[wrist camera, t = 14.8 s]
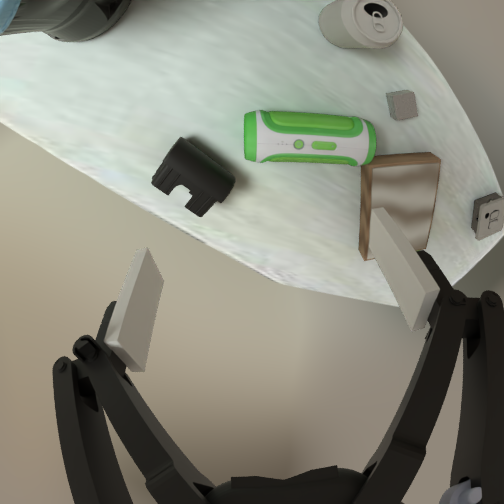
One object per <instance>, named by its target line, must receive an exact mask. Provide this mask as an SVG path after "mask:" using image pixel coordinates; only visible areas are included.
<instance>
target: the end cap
mask: <svg viewBox="0 0 504 504" xmlns="http://www.w3.org/2000/svg"><path fill="white" fill-rule="evenodd" d="M151 183H152V185H153V186H155V187H156V188H158V189H159V190H161V191H162V192H163V193H165V194H166V195H169V194H170V193H171V191H172V190H173V189H174V188H175V187H176V186H178V185H184V186H185V187H186V188H188V189H189V190H190V192H189V193H190V194H191V195H192V198H191V199H190V200H189V201H188V203H187V204H186V205H185V208H187V209H188V210H190V211H191V212H193V213H194V214H196V215H197V216H199V217H202V216H203V215H204V214H205V213H206V212H207V211H208V210H209V209H210V208H211V207H212V206H213V204H214V203H215V202H216V201H218V202H220V203H222V202H223V201H224V200H225V198H226V197H227V196H228V194H229V193H230V191H231V190H232V188H233V186H234V183H235V177H234V176H233V175H232V174H231V173H229V172H228V171H227V170H225V169H224V168H223V167H221V166H220V165H219V164H218V163H216V162H215V161H214V160H212V159H211V158H210V157H208V156H207V155H206V154H204V153H203V152H202V151H200V150H199V149H197V148H196V147H195V146H193V145H192V144H191V143H189V142H188V141H187V140H185V139H184V138H182V137H180V138H179V139H178V140H177V141H176V143H175V144H174V145H173V146H172V148H171V149H170V151H169V152H168V154H167V155H166V157H165V158H164V160H163V163H162V164H161V165H160V167H159V168H158V170H157V171H156V173H155V175H154V176H153V177H152V182H151Z"/></svg>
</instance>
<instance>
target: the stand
mask: <svg viewBox="0 0 504 504" xmlns="http://www.w3.org/2000/svg"><path fill="white" fill-rule="evenodd" d="M440 164H441V159H439V158H438V157H436V156H435V155H434V154H432V153H431V152H423V153H406V154H391V155H379V156H374V157H373V159H372V161H371V162H370V163H368V164H365V165H361V208H360V233H359V251H360V253H361V255H362V257H363V259H364V261H367V260H372V259H375V257H374V255H373V254H372V252H371V250H370V248H369V239H370V227H371V211H372V209H375V208H382V207H383V208H384V209H385V210H386V211H387V213H388V214H389V215H390V217H391V218H392V219H393V221H394V222H395V223H396V225H397V226H398V227H399V229H400V230H401V231H402V233H403V234H404V235H405V237H406V238H407V240H408V241H409V243H410V244H411V245H412V247H413V248H414V250H415V251H417V250H422V249H426V247H427V242H428V238H429V233H430V228H431V223H432V218H433V213H434V207H435V201H436V195H437V188H438V181H439V173H440Z"/></svg>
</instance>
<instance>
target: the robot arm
mask: <svg viewBox="0 0 504 504" xmlns="http://www.w3.org/2000/svg"><path fill="white" fill-rule="evenodd" d="M130 2H131V0H0V36H2V35H9V34H17V33H26V32H39V31H42V32H44V33H46V34H48V35H49V36H50V37H52V38H53V39H55V40H58V41H62V42H80V41H85V40H89V39H92V38H94V37H96V36H98V35H100V34H102V33H103V32H105V31H106V30H108V29H109V28H110V27H111V26H112V25H114V24H115V23H116V22H117V21H118V20H119V18H120V17H121V16H122V15H123V13H124V12H125V11H126V9H127V8H128V6H129V4H130ZM369 248H370V250H371V252H372V254H373V255H374V257H375V259H376V261H377V263H378V265H379V267H380V268H381V270H382V272H383V274H384V276H385V278H386V280H387V282H388V284H389V286H390V288H391V290H392V292H393V294H394V296H395V298H396V300H397V302H398V304H399V306H400V308H401V310H402V313H403V315H404V317H405V319H406V321H407V323H408V326H409V328H410V330H411V332H412V331H416V330H419V329H422V328H424V327H425V325H426V323H427V321H428V322H429V324H430V326H431V327H430V329H429V331H428V333H427V336H426V338H425V339H426V342H425V344H424V347H423V350H422V353H421V355H420V358H419V361H418V363H417V366H416V369H415V372H414V374H413V376H412V379H411V381H410V384H409V386H408V389H407V391H406V393H405V395H404V398H403V400H402V402H401V404H400V406H399V408H398V411H397V412H396V415H395V417H394V419H393V421H392V423H391V425H390V427H389V429H388V431H387V432H386V434H385V436H384V438H383V440H382V442H381V444H380V445H379V447H378V449H377V450H376V452H375V453H374V455H373V456H372V458H371V459H370V461H369V462H368V464H367V465H366V467H365V469H364V470H363V472H362V473H359V472H357V471H354V470H350V469H344V468H337V465H336V466H331V467H325V468H320V469H315V470H310V471H307V472H305V473H302V474H299V475H297V476H294V477H291V478H288V479H285V480H280V479H273V478H265V477H259V476H249V477H231V481H228V482H225V483H222V484H221V485H219V486H217V487H216V486H215V485H214V484H213V483H212V482H211V481H210V480H209V479H208V478H206V477H205V476H204V475H202V474H201V473H200V472H199V471H198V470H197V469H196V468H195V466H194V465H193V464H192V463H191V462H190V461H189V459H188V458H187V457H186V456H185V455H184V454H183V452H182V451H181V450H180V449H179V447H178V446H177V445H176V444H175V442H174V441H173V440H172V438H171V437H170V436H169V435H168V433H167V432H166V431H165V429H164V428H163V427H162V425H161V424H160V423H159V421H158V420H157V418H156V417H155V416H154V414H153V413H152V411H151V410H150V408H149V407H148V406H147V404H146V403H145V401H144V400H143V398H142V397H141V395H140V394H139V392H138V391H137V389H136V387H135V386H134V384H133V383H132V381H131V380H130V378H129V377H128V375H127V374H126V373H125V369H126V366H127V367H128V368H129V369H130V370H131V371H132V372H144V371H145V366H146V361H147V356H148V351H149V346H150V341H151V336H152V331H153V326H154V321H155V317H156V313H157V308H158V304H159V300H160V296H161V291H162V287H163V283H164V280H163V278H162V276H161V274H160V272H159V270H158V268H157V266H156V264H155V261H154V260H153V258H152V256H151V253H150V251H149V249H148V248H143V249H138V250H136V253H135V255H134V258H133V260H132V263H131V265H130V268H129V271H128V273H127V275H126V278H125V281H124V283H123V286H122V289H121V291H120V294H119V297H118V300H117V301H113V302H111V303H110V305H109V306H108V307H107V309H106V311H105V314H104V318H103V320H102V324H101V325H100V328H99V331H98V334H97V337H96V340H94V339H93V338H92V337H91V336H90V335H84V336H82V337H80V338H79V339H78V340H77V341H76V342H75V344H74V346H73V354H74V355H75V356H76V357H77V358H78V359H77V360H74V361H71V360H70V359H69V358H68V357H65V356H64V357H61V358H59V359H58V360H57V361H56V362H55V364H54V366H53V388H54V400H55V410H56V418H57V425H58V433H59V439H60V444H61V450H62V455H63V460H64V465H65V469H66V474H67V478H68V482H69V485H70V489H71V493H72V496H73V499H74V503H75V504H133V502H132V500H131V497H130V495H129V492H128V489H127V487H126V484H125V482H124V479H123V476H122V473H121V470H120V467H119V464H118V461H117V458H116V455H115V452H114V449H113V445H112V442H111V438H110V435H109V431H108V427H107V424H106V419H105V415H104V411H103V408H104V410H105V412H106V414H107V416H108V418H109V420H110V421H111V423H112V425H113V427H114V429H115V431H116V432H117V434H118V436H119V437H120V439H121V441H122V443H123V444H124V446H125V448H126V449H127V451H128V452H129V454H130V456H131V457H132V458H133V460H134V462H135V463H136V465H137V466H138V468H139V469H140V471H141V472H142V474H143V475H144V477H145V478H146V483H145V484H146V488H147V489H148V491H149V492H150V494H151V495H152V496H153V498H154V499H155V500H156V502H157V503H158V504H404V503H402V502H401V500H402V499H403V497H404V495H405V494H406V492H407V490H408V489H409V487H410V485H411V483H412V481H413V480H414V478H415V476H416V474H417V472H418V470H419V468H420V466H421V464H422V462H423V460H424V457H425V455H426V445H427V442H428V440H429V438H430V435H431V433H432V431H433V428H434V426H435V423H436V421H437V418H438V416H439V413H440V410H441V407H442V405H443V402H444V399H445V396H446V393H447V390H448V387H449V384H450V381H451V377H452V374H453V370H454V367H455V363H456V360H457V356H458V352H459V348H460V343H461V339H462V338H463V387H462V388H463V389H462V402H461V414H460V422H459V431H458V437H457V444H456V450H455V455H454V460H453V466H452V472H451V481H450V488H449V489H448V490H446V491H445V493H444V494H443V495H442V497H441V499H440V502H439V504H504V308H503V303H502V300H501V298H500V296H499V295H498V294H497V293H495V292H493V291H484V292H483V293H482V295H481V297H480V298H467V297H466V296H465V295H464V294H463V293H462V292H461V291H459V290H454V289H453V288H452V286H451V284H450V283H449V281H448V280H447V278H446V277H445V275H444V274H443V272H442V271H441V269H440V268H439V266H438V265H437V264H436V262H435V261H434V259H433V258H432V256H431V255H430V254H428V253H427V252H425V251H424V250H421V251H415V250H414V248H413V247H412V245H411V244H410V243H409V241H408V240H407V238H406V237H405V235H404V234H403V233H402V231H401V230H400V229H399V227H398V226H397V225H396V223H395V222H394V221H393V219H392V218H391V217H390V215H389V214H388V213H387V211H386V210H385V209H384V208H383V207H382V208H375V209H372V211H371V227H370V239H369ZM102 406H103V407H102Z"/></svg>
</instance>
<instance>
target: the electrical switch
mask: <svg viewBox="0 0 504 504" xmlns="http://www.w3.org/2000/svg"><path fill="white" fill-rule="evenodd" d="M489 200H490V201H489ZM475 207H476V208H475ZM476 214H477V215H476ZM476 218H478V220H477V219H476ZM473 221H474V222H473ZM476 221H477V222H476ZM503 223H504V196H502V197H501V196H500V195H498V194H497V193H493V194H491V195H488V196H485V197H483V198H480V199H477V200H475V202H474V211H473V219H472V227H471V228H472V229H473V230H474V232H475V233H476V237H475V238H476V239H477V240H481V239H484V238H486V237H488V236H490V235H492V234H494V233H497V232H499V231H501V230H502V228H503Z"/></svg>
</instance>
